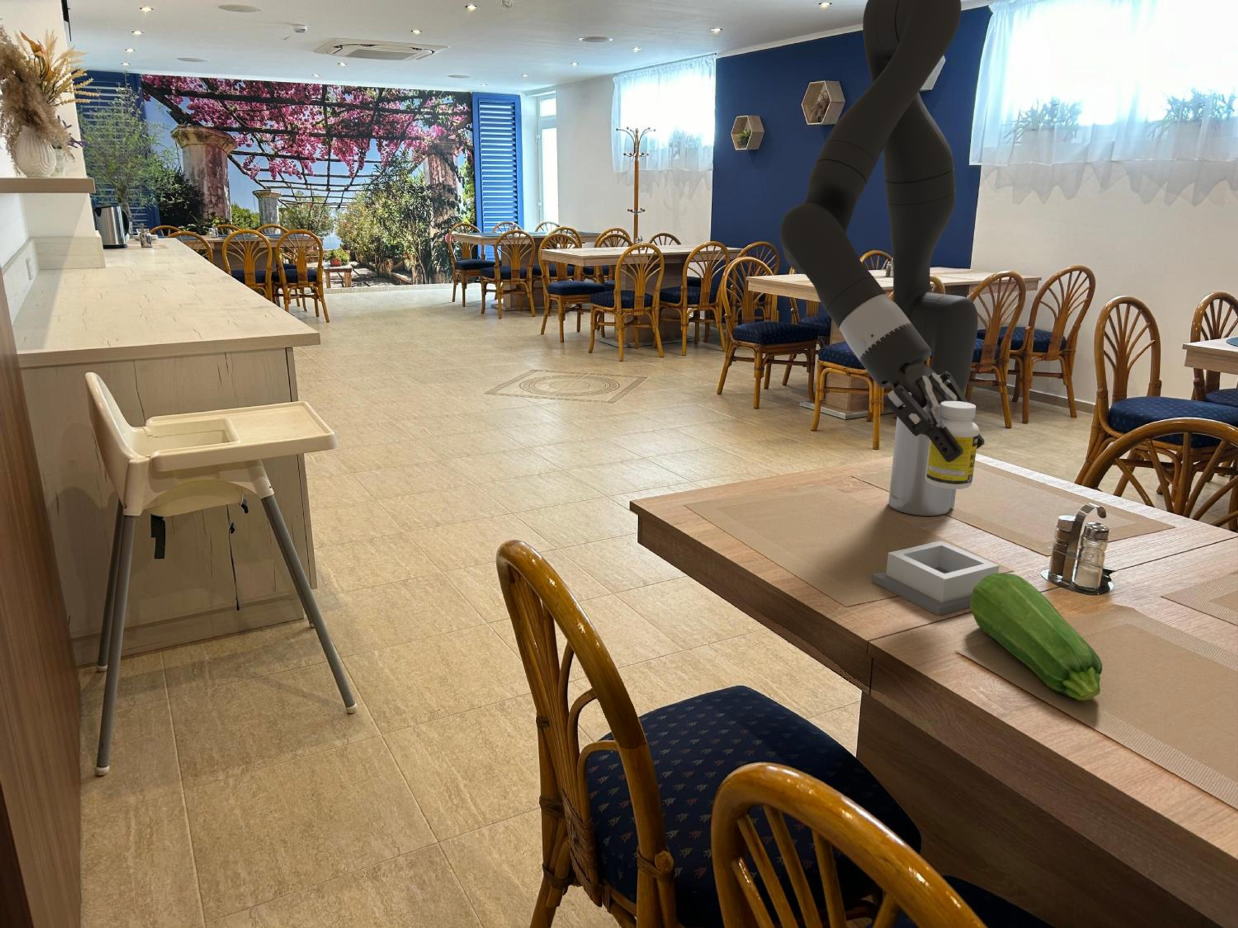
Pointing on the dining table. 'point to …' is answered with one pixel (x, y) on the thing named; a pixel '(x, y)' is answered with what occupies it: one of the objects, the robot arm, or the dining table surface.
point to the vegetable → (1036, 634)
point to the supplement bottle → (966, 434)
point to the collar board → (935, 576)
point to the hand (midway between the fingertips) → (967, 452)
